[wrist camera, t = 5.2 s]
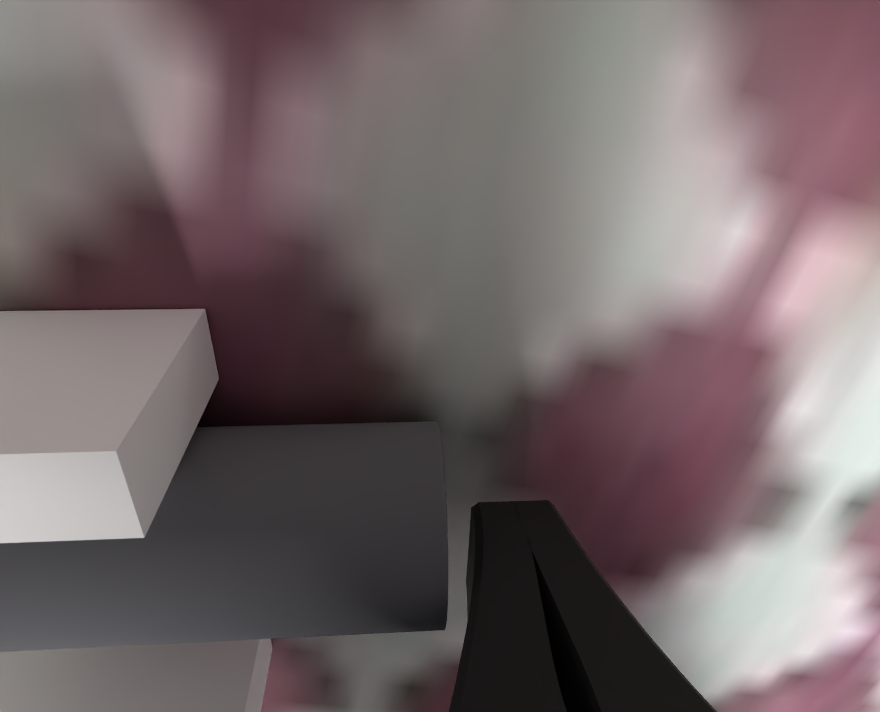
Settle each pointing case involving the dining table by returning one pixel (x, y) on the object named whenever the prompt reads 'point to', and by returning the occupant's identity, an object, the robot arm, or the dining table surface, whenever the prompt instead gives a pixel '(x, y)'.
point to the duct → (108, 492)
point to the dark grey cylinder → (254, 546)
